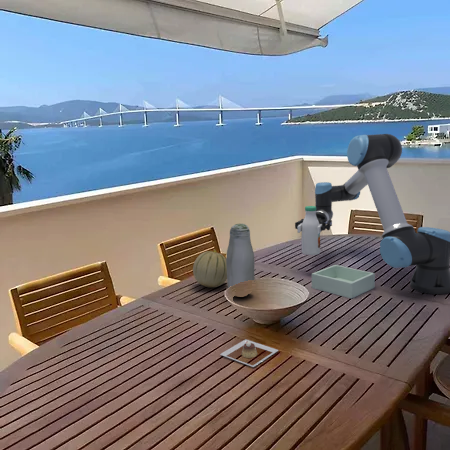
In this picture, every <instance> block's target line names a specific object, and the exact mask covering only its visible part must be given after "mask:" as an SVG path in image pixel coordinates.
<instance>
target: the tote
mask: <svg viewBox="0 0 450 450" xmlns="http://www.w3.org/2000/svg"><path fill="white" fill-rule="evenodd" d="M375 277H376V273H375V272H371V271H366V270H361V269H356V268H352V267H348V266H343V265H340V264H339V265H338V264H333V265H331V266H328V267H326V268H323V269H320V270H318V271H315V272H313V273H311V289H314V290H318V291H322V292H326V293H329V294H333V295H337V296H340V297H344V298H348V299H354V298H356V297H358V296H360V295H363V294H364V293H366V292H368V291H371V290H373V289H375V282H376V281H375V279H376V278H375Z"/></svg>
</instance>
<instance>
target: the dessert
mask: <svg viewBox="0 0 450 450" xmlns="http://www.w3.org/2000/svg"><path fill="white" fill-rule="evenodd" d="M241 347H242V351H241V357H243V358H246V359H251V358H252V359H253V358H255V357H257V356H258V352H257V348H259V349H262V350H265V351H268V352H270V354H268V355H267V356H265V357H264V358H261V360H258V361H257V362H256V363H255V364H253V365H252V364H250V363H248V362H247V363H246V362H244V361H241V360H239V359H236V358H233V357H230V356H228V355H230V354H231V353H232V354H233V352H235V351H237V350H239V349H240V348H241ZM277 352H279V349H277V348H274V347H270V346H268V345H264V344H261V343H258V342H255V341H253V340H250V339H244V340H242V341H240V342H238V343H237V344H235V345H233V346H232V347H230V348H228V349H227V350H224V351H223V352H221V353H220V354H219V355H220V356H222V357H224V358H228V359H230V360H233V361H236V362H238V363H241V364H244V365H246V366H250V367H252V368H254V367H256V366H257V365H259V364H260V363H262V362H264V361H265V360H267V359H268V358H269V357H272V355H274V354H277Z"/></svg>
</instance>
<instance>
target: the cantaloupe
mask: <svg viewBox="0 0 450 450" xmlns="http://www.w3.org/2000/svg"><path fill="white" fill-rule="evenodd" d="M192 272H193V276H194V278H195V281H196V282H197V283H198V284H199V285H202V286H204V287H206V288H217V287H219V286H221V285H223V284H224V283H226V282H227V266H226V256H225V255H223V254H221V253H220V252H217V250H216V249H215V248H213V251H210V250H209V251H204V252H201V253H200V254H199V255H198V256H197V257H196V259H195V261H194V262H193V267H192Z"/></svg>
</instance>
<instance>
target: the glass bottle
mask: <svg viewBox="0 0 450 450" xmlns="http://www.w3.org/2000/svg"><path fill="white" fill-rule="evenodd" d="M225 258H226V266H227V280H226V282H227V283H226V284H227V288H229V287H230V286H233V285H235V284H238V283H240V282H244V281H248V280H255V252H254V248H253V244H252V241H251V231H250V227H249V226H248V225H247V224H246V223H236V224H234V225H232V226H231V227H230V230H229V241H228V246H227V249H226V255H225Z"/></svg>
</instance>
